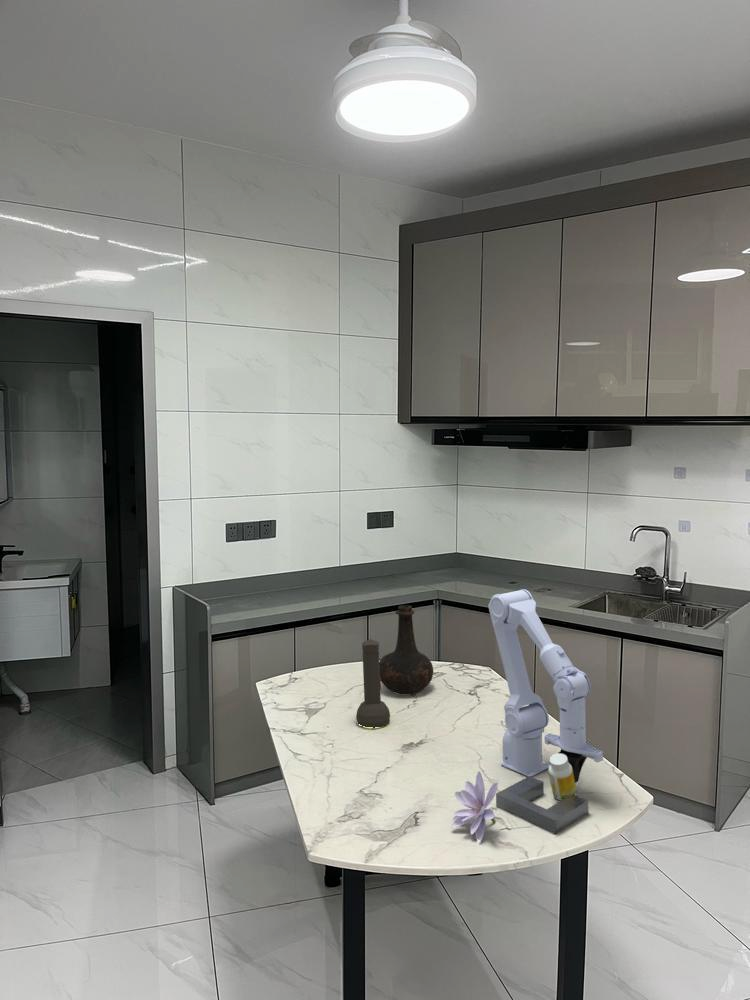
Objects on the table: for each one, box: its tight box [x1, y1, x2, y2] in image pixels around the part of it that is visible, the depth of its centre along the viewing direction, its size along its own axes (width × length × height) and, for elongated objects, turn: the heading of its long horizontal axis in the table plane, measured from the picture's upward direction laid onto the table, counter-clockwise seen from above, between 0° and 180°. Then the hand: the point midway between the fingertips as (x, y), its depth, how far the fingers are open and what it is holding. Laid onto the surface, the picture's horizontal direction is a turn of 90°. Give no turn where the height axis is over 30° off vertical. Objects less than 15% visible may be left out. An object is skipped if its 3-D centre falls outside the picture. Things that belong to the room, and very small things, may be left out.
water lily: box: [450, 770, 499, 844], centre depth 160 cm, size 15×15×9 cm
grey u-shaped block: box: [495, 776, 590, 835], centre depth 166 cm, size 16×12×3 cm
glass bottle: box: [379, 604, 434, 695], centre depth 243 cm, size 18×18×28 cm
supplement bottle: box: [547, 752, 577, 802], centre depth 170 cm, size 5×5×10 cm
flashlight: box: [355, 638, 391, 728], centre depth 217 cm, size 10×25×10 cm
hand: (573, 781), depth 173 cm, fingers closed, pressing on supplement bottle
